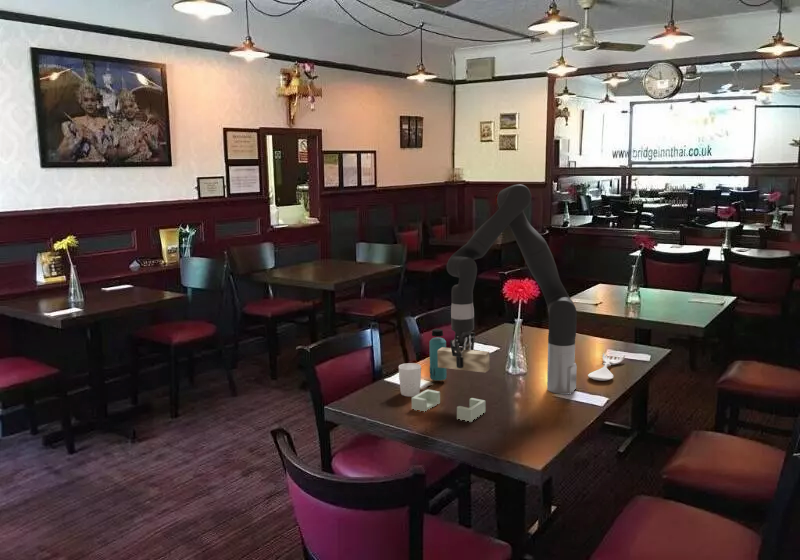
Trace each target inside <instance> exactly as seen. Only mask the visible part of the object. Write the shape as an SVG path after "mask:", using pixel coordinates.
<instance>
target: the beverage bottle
mask: <svg viewBox="0 0 800 560" xmlns="http://www.w3.org/2000/svg"><path fill="white" fill-rule="evenodd" d="M431 336H432V338H431V339H430V340H429V341H428V342H429V378H430V379H431V380H432V381H438V382H439V381H444V380H446V379H447V376H448V369H447V368H439V367H438V354H437V350H439V349H440V348H442V347H444V348H447V341H446V340H445V338H443V336H444V330H443V329H440V328H434V329H432V330H431Z"/></svg>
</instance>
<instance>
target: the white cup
mask: <svg viewBox="0 0 800 560" xmlns="http://www.w3.org/2000/svg"><path fill="white" fill-rule="evenodd" d="M421 376H422V365H421V364H419V363H415V362H408V363H402V364H399V365H398V377H399V387H400V394H401V396H404V397H414V396H416V395H418V394H420V393H421V382H422V381H421V380H422V379H421V378H422V377H421Z"/></svg>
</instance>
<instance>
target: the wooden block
mask: <svg viewBox="0 0 800 560" xmlns="http://www.w3.org/2000/svg"><path fill="white" fill-rule="evenodd" d="M437 354H438V367H439V368H446V369H447V370H448V369H451V370H457V371H459V370H460V371H468V372H476V373H477V372H478V373H485V374H486V373H487V372H488V371H489V370H490V365H491V364H490V363H491V362H490V351H488V350H487V351H485V350H475V349H473V350H466V349H465V350H464V353H463V368H457V363H456V357H455V356H453V355H452V350H451V347H446V348H444V347H442V348H440V349H439V350H437ZM460 354H461V350H460Z"/></svg>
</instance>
